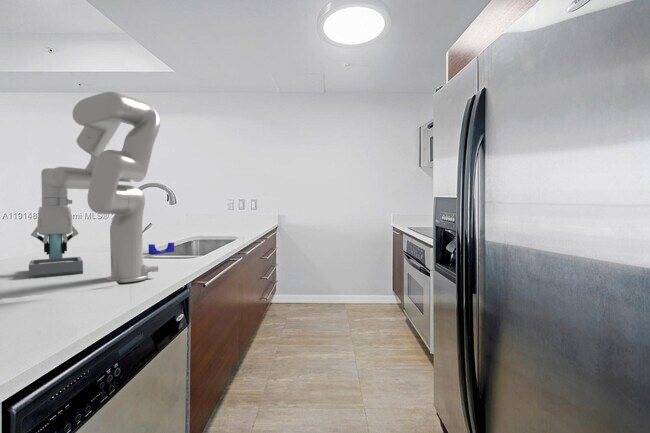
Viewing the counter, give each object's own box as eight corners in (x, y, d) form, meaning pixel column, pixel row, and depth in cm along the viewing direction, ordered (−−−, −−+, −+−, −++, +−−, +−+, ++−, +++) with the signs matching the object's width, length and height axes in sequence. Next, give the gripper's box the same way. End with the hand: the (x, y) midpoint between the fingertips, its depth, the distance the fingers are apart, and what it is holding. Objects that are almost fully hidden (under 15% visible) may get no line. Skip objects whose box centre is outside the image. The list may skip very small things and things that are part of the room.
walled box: (80, 268, 145) (80, 256, 145) (82, 273, 132) (82, 260, 132) (31, 272, 136) (31, 260, 136) (29, 278, 123) (28, 265, 123)
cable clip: (153, 257, 179) (153, 244, 179) (148, 256, 182) (148, 244, 182) (176, 254, 189) (175, 242, 189) (170, 254, 192) (170, 242, 192)
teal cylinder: (62, 257, 137) (62, 232, 137) (62, 258, 133) (62, 233, 133) (49, 258, 134) (48, 233, 134) (48, 259, 131) (48, 233, 131)
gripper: (81, 203, 142) (82, 251, 142) (25, 203, 132) (26, 254, 132) (83, 203, 135) (83, 253, 136) (24, 202, 126) (25, 256, 126)
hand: (55, 253), depth 134 cm, fingers closed on teal cylinder, 4 cm apart
